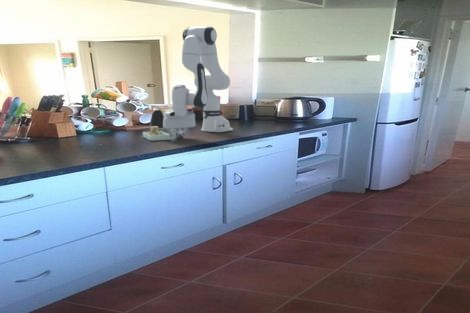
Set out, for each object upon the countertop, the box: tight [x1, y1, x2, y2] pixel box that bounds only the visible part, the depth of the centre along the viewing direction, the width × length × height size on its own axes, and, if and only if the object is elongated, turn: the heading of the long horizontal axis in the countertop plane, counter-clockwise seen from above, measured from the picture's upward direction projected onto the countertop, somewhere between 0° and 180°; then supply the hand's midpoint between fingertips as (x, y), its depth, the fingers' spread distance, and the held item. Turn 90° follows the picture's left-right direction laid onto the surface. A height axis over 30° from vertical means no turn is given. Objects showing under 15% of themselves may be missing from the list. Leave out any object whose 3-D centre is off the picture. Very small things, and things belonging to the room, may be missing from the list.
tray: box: [142, 131, 171, 142], centre depth 219 cm, size 12×14×3 cm
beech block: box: [149, 126, 159, 136], centre depth 222 cm, size 4×4×6 cm
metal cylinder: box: [175, 128, 184, 140], centre depth 222 cm, size 4×4×6 cm
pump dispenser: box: [149, 108, 166, 132], centre depth 240 cm, size 10×10×15 cm
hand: (179, 135), depth 222 cm, fingers closed on metal cylinder, 4 cm apart
